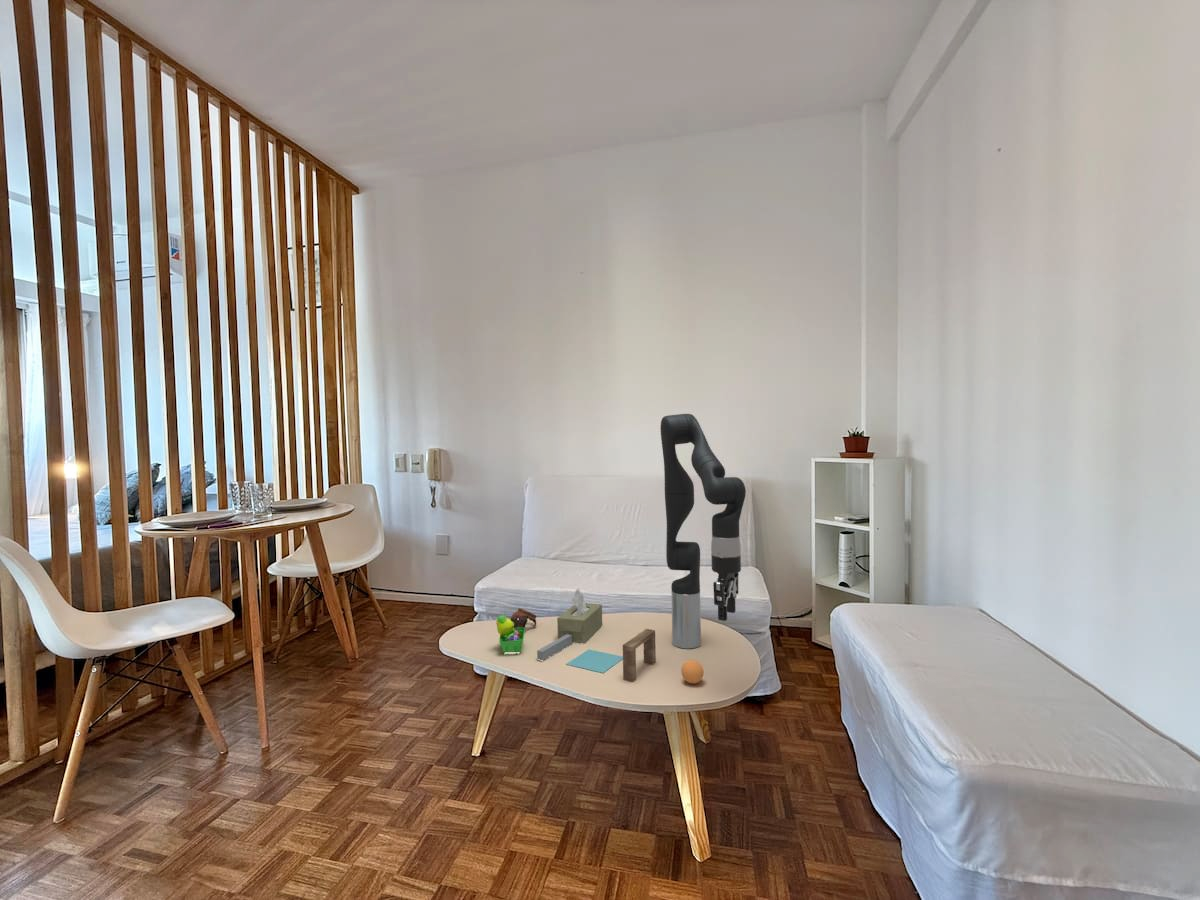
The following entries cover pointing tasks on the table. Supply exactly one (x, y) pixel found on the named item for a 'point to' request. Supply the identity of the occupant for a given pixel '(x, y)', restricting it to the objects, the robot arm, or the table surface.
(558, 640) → the stopper wall
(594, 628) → the tissue box
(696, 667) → the orange ball
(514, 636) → the fruit basket
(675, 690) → the table surface
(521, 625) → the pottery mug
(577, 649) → the table surface
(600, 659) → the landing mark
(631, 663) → the bridge
